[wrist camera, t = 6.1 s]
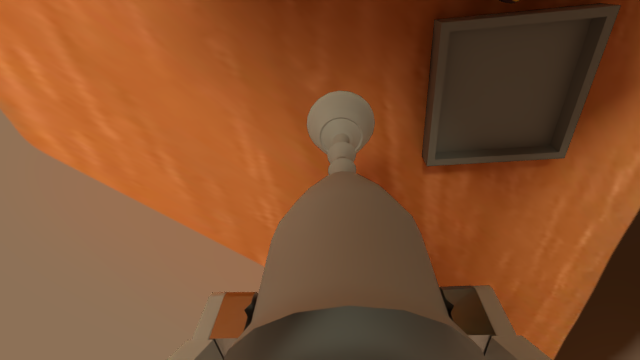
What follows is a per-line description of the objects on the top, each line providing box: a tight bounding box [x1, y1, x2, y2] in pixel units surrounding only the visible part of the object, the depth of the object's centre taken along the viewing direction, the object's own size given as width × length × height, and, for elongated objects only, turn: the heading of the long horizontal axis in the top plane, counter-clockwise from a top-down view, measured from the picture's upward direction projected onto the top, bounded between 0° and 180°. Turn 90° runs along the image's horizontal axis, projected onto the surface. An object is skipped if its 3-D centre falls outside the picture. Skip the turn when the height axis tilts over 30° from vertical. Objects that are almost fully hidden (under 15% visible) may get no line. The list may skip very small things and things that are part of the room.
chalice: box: [224, 91, 486, 360], centre depth 16 cm, size 7×7×18 cm
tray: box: [422, 3, 621, 166], centre depth 33 cm, size 15×15×2 cm
